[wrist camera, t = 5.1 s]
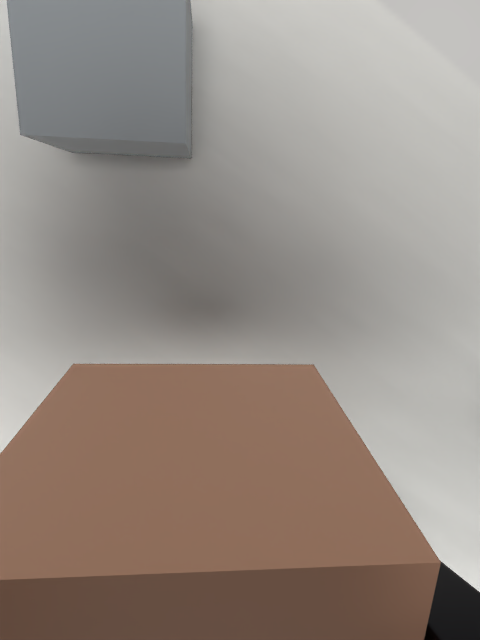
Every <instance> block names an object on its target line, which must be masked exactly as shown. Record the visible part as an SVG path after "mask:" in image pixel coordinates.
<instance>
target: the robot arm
mask: <svg viewBox="0 0 480 640" xmlns="http://www.w3.org/2000/svg"><path fill="white" fill-rule="evenodd" d="M440 562H441V561H440ZM424 640H480V592H479V591H477V590H476V589H475V588H474V587H472V586H471V585H470V584H469V583H467V582H466V581H465V580H464V579H462V578H461V577H460V576H459V575H457V574H456V573H455V572H454V571H452V570H451V569H450V568H449V567H447V566H446V565H445V564H444V563H442V562H441V564H440V569H439V574H438V578H437V583H436V587H435V592H434V596H433V601H432V605H431V610H430V615H429V619H428V624H427V628H426V633H425V637H424Z"/></svg>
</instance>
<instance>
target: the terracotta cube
mask: <svg viewBox="0 0 480 640" xmlns="http://www.w3.org/2000/svg"><path fill="white" fill-rule="evenodd" d="M440 564H441V562H440V560H439V559H438V557H437V556H436V554H435V553H434V551H433V549H432V548H431V546H430V545H429V543H428V542H427V540H426V539H425V537H424V535H423V534H422V532H421V531H420V529H419V528H418V526H417V525H416V523H415V521H414V520H413V518H412V517H411V515H410V514H409V512H408V511H407V509H406V508H405V506H404V504H403V503H402V501H401V500H400V498H399V497H398V495H397V494H396V492H395V490H394V489H393V487H392V486H391V484H390V483H389V481H388V480H387V478H386V476H385V475H384V473H383V472H382V470H381V469H380V467H379V466H378V464H377V462H376V461H375V459H374V458H373V456H372V455H371V453H370V452H369V450H368V449H367V447H366V445H365V444H364V442H363V441H362V439H361V438H360V436H359V435H358V433H357V431H356V430H355V428H354V427H353V425H352V424H351V422H350V421H349V419H348V417H347V416H346V414H345V413H344V411H343V410H342V408H341V407H340V405H339V404H338V402H337V400H336V399H335V397H334V396H333V394H332V393H331V391H330V390H329V388H328V386H327V385H326V383H325V382H324V380H323V379H322V377H321V376H320V374H319V372H318V371H317V369H316V368H315V366H314V365H276V364H73V365H72V366H71V367H70V369H69V370H68V371H67V372H66V374H65V375H64V376H63V377H62V378H61V380H60V381H59V382H58V383H57V385H56V386H55V387H54V388H53V390H52V391H51V392H50V393H49V395H48V396H47V397H46V398H45V399H44V401H43V402H42V403H41V404H40V406H39V407H38V408H37V409H36V411H35V412H34V413H33V414H32V416H31V417H30V418H29V419H28V420H27V422H26V423H25V424H24V425H23V427H22V428H21V429H20V430H19V432H18V433H17V434H16V435H15V437H14V438H13V439H12V440H11V441H10V443H9V444H8V445H7V446H6V448H5V449H4V450H3V451H2V453H1V454H0V640H424V637H425V633H426V628H427V624H428V619H429V615H430V610H431V605H432V601H433V596H434V592H435V587H436V583H437V578H438V574H439V569H440Z"/></svg>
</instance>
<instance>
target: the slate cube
mask: <svg viewBox="0 0 480 640" xmlns="http://www.w3.org/2000/svg"><path fill="white" fill-rule="evenodd" d="M7 8H8V18H9V28H10V38H11V47H12V57H13V67H14V77H15V86H16V96H17V106H18V116H19V126H20V135H22V136H25V137H28V138H31V139H34V140H37V141H40V142H43V143H46V144H49V145H52V146H55V147H58V148H61V149H64V150H66V151H69V152H77V153H97V154H117V155H137V156H157V157H177V158H191V149H192V14H191V2H190V0H7Z"/></svg>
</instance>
